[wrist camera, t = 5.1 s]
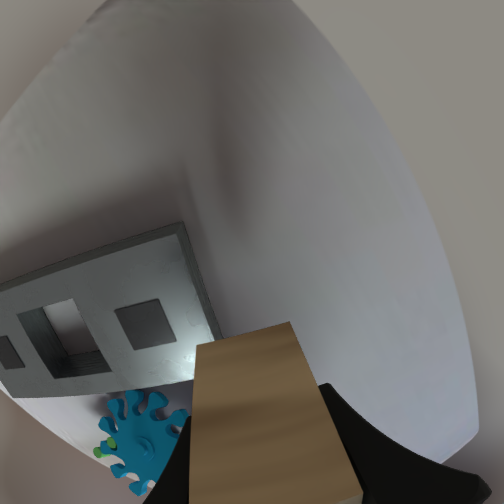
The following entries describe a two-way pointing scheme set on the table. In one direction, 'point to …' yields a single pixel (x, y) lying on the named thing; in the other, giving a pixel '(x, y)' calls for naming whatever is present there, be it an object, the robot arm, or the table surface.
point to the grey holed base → (109, 319)
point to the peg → (263, 426)
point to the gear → (139, 438)
